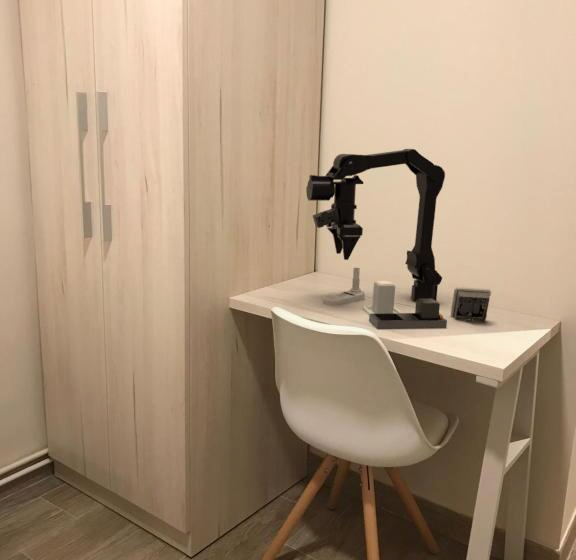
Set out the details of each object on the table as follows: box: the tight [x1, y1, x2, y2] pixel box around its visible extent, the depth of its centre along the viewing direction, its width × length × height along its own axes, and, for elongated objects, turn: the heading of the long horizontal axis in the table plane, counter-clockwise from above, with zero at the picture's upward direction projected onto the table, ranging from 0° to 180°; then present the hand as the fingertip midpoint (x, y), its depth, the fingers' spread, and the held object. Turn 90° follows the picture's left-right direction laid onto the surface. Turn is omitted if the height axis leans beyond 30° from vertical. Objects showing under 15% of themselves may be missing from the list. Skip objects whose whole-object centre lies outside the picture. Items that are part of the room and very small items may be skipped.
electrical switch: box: [450, 286, 492, 324], centre depth 163 cm, size 9×5×9 cm, turn 84°
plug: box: [371, 280, 396, 313], centre depth 167 cm, size 4×4×8 cm
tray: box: [361, 305, 403, 316], centre depth 167 cm, size 9×8×1 cm
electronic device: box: [322, 267, 366, 307], centre depth 178 cm, size 5×10×15 cm
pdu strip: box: [368, 299, 448, 330], centre depth 157 cm, size 18×7×7 cm, turn 99°
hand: (342, 256), depth 173 cm, fingers open, 9 cm apart
